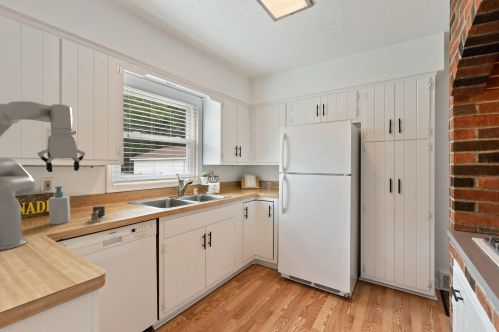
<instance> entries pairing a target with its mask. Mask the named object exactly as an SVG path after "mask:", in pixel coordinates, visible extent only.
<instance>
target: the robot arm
mask: <svg viewBox="0 0 499 332" xmlns="http://www.w3.org/2000/svg"><path fill="white" fill-rule="evenodd" d="M72 111H73V110H72V108H71V106H69V105H67V104H57V103H55V104H51V105H47V104H45V103H39V102H35V101H34V102H33V101H24V100H23V101H22V100H21V101H20V100H19V101H10V102H8V103H0V138H1V137H2V136H3V135H4V134H5V133H6V132H7V131H8V130H9V129H10V128H11V127H12V126H13V125H14V124H17V123H20V121H21V120H26V121H27V120H28V121H29V120H30V121H38V122H43V123H50V135H48V137H47V138H48V139H47V147H46V149H43V150H41V151H38V152H37V156H38V157H39V158H40V160H42V161H43V162H44V163H45V166H46V168H45V169H46V171H47V172H48V173H52V172H53V164H52V161H53V160H54V159H72V160H73V171H75V172H78V171H79V169H80V162H81V161H82V160H83V159H84V158H85V156H86V152H85V151H83V150H79V149H78V147H77V142H76V138H75V136H74V135H76V134H77V131H75V130H73V114H72V113H73V112H72ZM45 154H46V155H47V157H45V156H44V155H45ZM78 154H80V155H79V156H78ZM35 188H36V182H35V180H34V178H33V177H32V175H30V174H29V173H28V171H27V170H26V169H25V168H24V167H23V166H22V164H20V163H19V162H18V161H16V160H15V159H12V158H8V157H7V158H5V157H4V158H1V157H0V251H3V250H8V249H14V248H17V247H20V246H23V245H25V244H26V243H27V242H28V239H27V238H24V237H23V226H22V224H23V223H22V210H21V209H22V207H21V203H20V202H19V200H18V199H17V198H16V197H17V196H22V195H23V196H24V195H27V194H31V192H34V190H35Z"/></svg>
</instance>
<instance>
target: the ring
mask: <svg viewBox="0 0 499 332" xmlns="http://www.w3.org/2000/svg"><path fill="white" fill-rule="evenodd" d="M105 207H106V206H105V205H101V206H99V205H98V206H97V205H95V206H93V207H92V213H94V212H95V211H97V210H101V213H98V216H106V211H105V209H106V208H105Z"/></svg>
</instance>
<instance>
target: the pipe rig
mask: <svg viewBox="0 0 499 332" xmlns="http://www.w3.org/2000/svg"><path fill="white" fill-rule="evenodd" d="M98 213H101V210H97V211H95V212H94V213H93V212H91V213H90V214H91V216H90V217H91V218H90V219H89V220H87V223H88V224H89V223H101V222H102V221H104V220H105V219H107V216H106V215H104V216H98Z"/></svg>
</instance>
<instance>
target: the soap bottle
mask: <svg viewBox="0 0 499 332" xmlns="http://www.w3.org/2000/svg"><path fill="white" fill-rule="evenodd" d="M62 188H63V186H62V185H61V186H60V185H58V186H55V187H54V189H55V190H56V192H54V196H51V197H49V198H48V200H47V201H48V216H49V217H48V218H49V221H48V222H49V225H61V224H67V223H69V222H70V221H71V203H70V196H69V195H64V192H63V191H62Z"/></svg>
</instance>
